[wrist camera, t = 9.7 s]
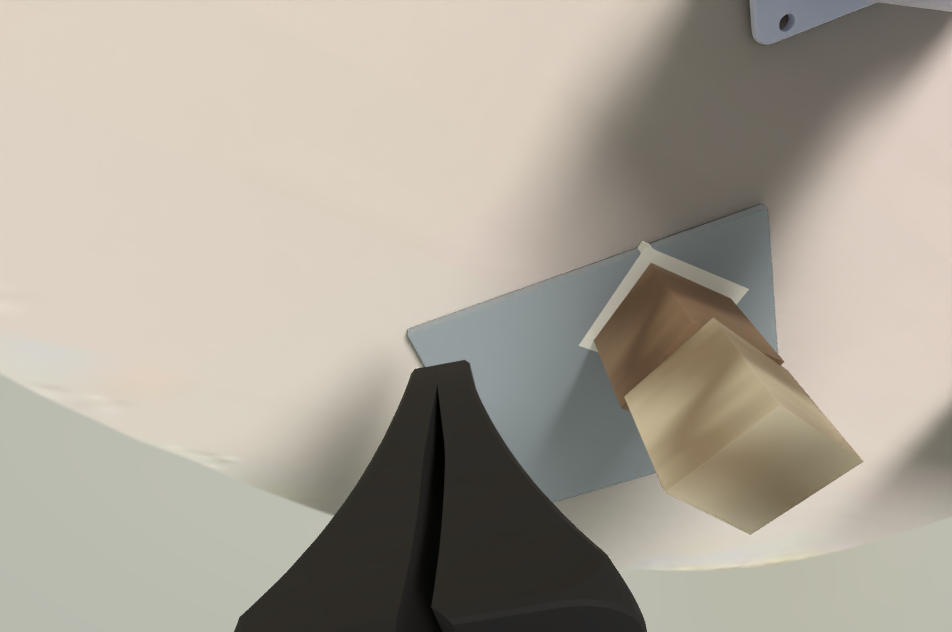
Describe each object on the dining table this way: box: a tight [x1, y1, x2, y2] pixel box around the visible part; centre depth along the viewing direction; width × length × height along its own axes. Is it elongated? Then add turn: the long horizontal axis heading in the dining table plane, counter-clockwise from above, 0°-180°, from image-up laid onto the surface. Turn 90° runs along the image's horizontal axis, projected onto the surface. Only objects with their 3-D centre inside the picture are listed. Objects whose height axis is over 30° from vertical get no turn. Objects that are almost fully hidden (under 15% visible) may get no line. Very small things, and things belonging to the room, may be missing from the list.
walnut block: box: [594, 263, 784, 411], centre depth 23 cm, size 4×4×4 cm
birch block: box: [624, 318, 863, 535], centre depth 19 cm, size 4×4×4 cm
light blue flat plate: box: [408, 204, 778, 503], centre depth 27 cm, size 16×15×1 cm
